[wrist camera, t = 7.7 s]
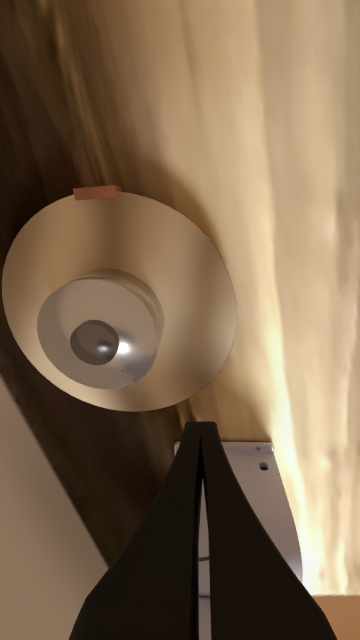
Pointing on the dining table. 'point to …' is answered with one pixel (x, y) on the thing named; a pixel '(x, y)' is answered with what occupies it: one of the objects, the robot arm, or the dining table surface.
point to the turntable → (139, 260)
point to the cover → (102, 328)
